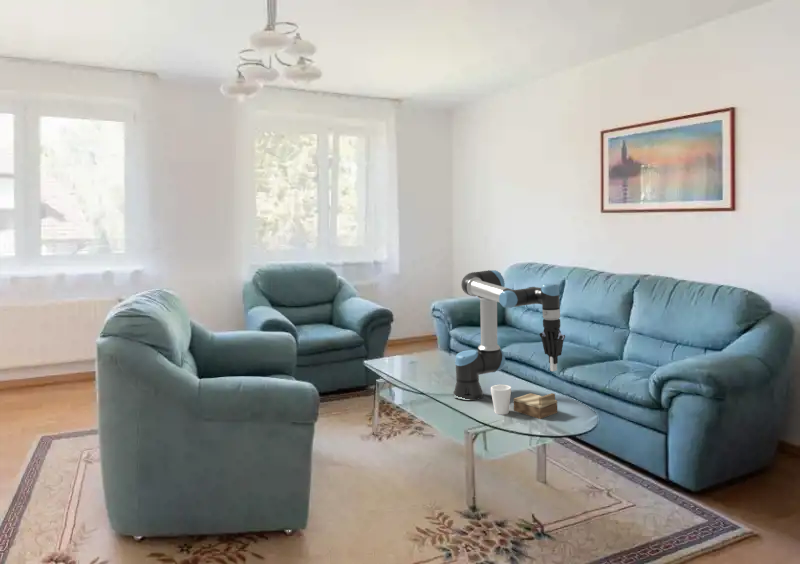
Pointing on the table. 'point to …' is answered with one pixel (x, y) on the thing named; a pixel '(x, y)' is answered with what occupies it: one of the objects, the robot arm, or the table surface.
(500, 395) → the foam cup
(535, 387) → the table surface
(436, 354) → the table surface
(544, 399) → the lid
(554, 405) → the brown wooden box
